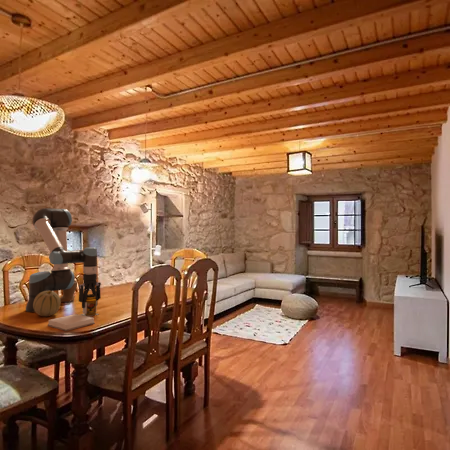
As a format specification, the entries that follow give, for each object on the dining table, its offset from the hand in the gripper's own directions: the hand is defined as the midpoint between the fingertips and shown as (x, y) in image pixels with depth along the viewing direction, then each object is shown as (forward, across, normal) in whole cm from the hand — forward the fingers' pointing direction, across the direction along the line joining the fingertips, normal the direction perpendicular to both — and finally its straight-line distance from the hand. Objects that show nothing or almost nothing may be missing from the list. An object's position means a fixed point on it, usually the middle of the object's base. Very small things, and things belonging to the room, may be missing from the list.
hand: (89, 312), depth 208 cm
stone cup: (+2, +16, +47) cm, 50 cm away
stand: (+1, -19, -11) cm, 22 cm away
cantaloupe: (+2, -16, +18) cm, 24 cm away
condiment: (+2, 0, 0) cm, 2 cm away
